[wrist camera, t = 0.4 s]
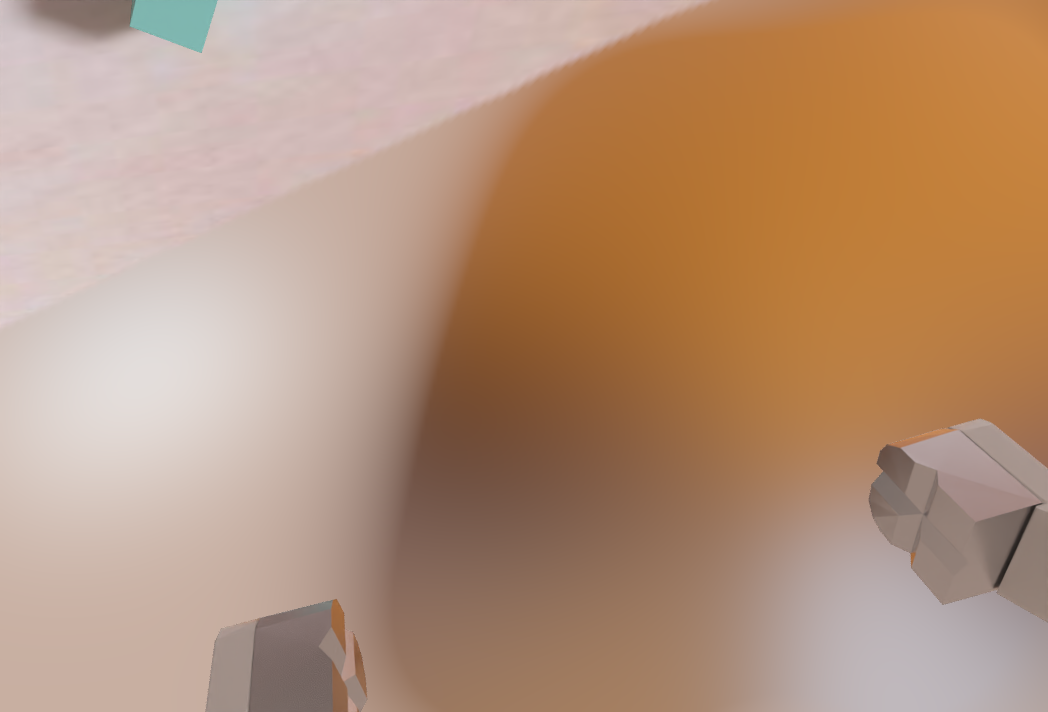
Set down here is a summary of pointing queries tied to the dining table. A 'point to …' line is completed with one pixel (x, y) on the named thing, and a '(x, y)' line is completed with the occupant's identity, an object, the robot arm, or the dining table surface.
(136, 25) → the teal block
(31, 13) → the dining table surface
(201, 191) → the dining table surface
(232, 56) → the dining table surface
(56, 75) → the dining table surface
